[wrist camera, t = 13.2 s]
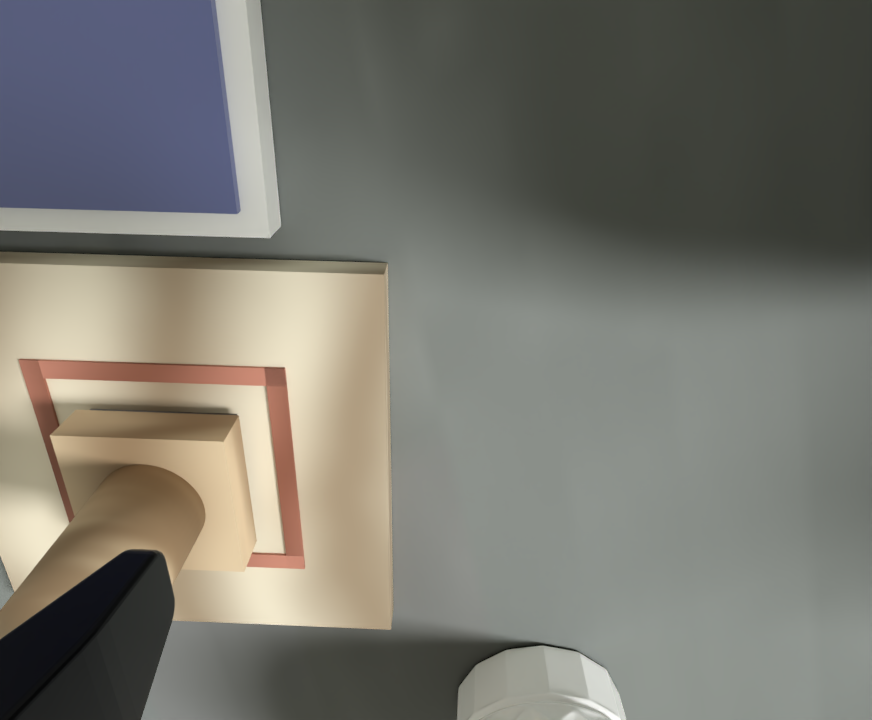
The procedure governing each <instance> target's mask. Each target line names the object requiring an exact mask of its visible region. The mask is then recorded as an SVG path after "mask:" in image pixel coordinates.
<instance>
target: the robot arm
mask: <svg viewBox="0 0 872 720" xmlns="http://www.w3.org/2000/svg"><path fill="white" fill-rule="evenodd" d="M174 610H175V597H174V592H173V588H172V584H171V579H170V575H169V571H168V566H167V562H166V559H165V556H164V555H163V553H162V552H161V551H158V550H147V549H129V550H126V551H124V552H122V553H120V554H119V555H117V556H116V557H115V558H113V559H112V560H110V561H109V562H107V563H106V564H105V565H103V566H102V567H100V568H99V569H98V570H96V571H95V572H93V573H92V574H91V575H89V576H88V577H86V578H85V579H84V580H82V581H81V582H79V583H78V584H77V585H75V586H74V587H72V588H71V589H70V590H68V591H67V592H65V593H64V594H63V595H61V596H60V597H58V598H57V599H56V600H54V601H53V602H51V603H50V604H49V605H47V606H46V607H44V608H43V609H42V610H40V611H39V612H37V613H36V614H35V615H33V616H32V617H30V618H29V619H28V620H26V621H25V622H23V623H22V624H21V625H19V626H18V627H16V628H15V629H13V630H12V631H11V632H9V633H8V634H6V635H5V636H4V637H2V638H1V639H0V720H141V717H142V714H143V711H144V708H145V705H146V702H147V698H148V695H149V692H150V689H151V686H152V683H153V680H154V676H155V673H156V670H157V667H158V664H159V661H160V657H161V654H162V651H163V648H164V645H165V642H166V639H167V635H168V632H169V629H170V626H171V623H172V620H173V616H174Z"/></svg>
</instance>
